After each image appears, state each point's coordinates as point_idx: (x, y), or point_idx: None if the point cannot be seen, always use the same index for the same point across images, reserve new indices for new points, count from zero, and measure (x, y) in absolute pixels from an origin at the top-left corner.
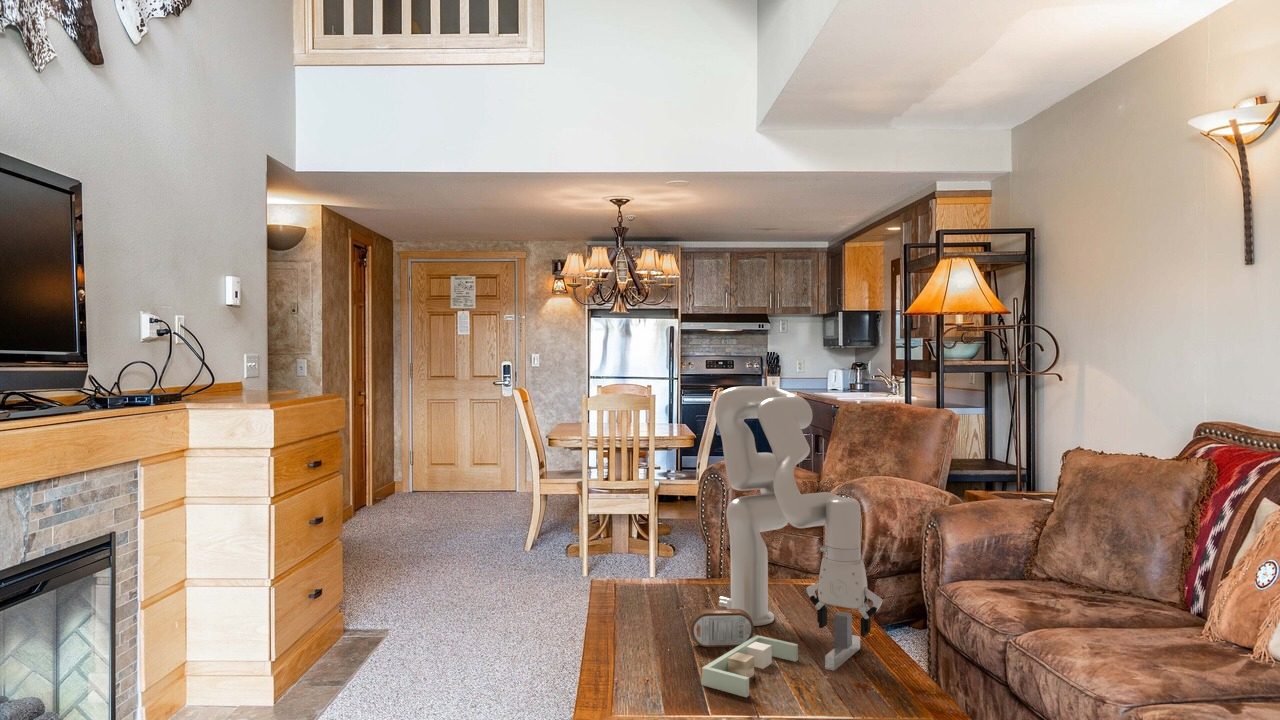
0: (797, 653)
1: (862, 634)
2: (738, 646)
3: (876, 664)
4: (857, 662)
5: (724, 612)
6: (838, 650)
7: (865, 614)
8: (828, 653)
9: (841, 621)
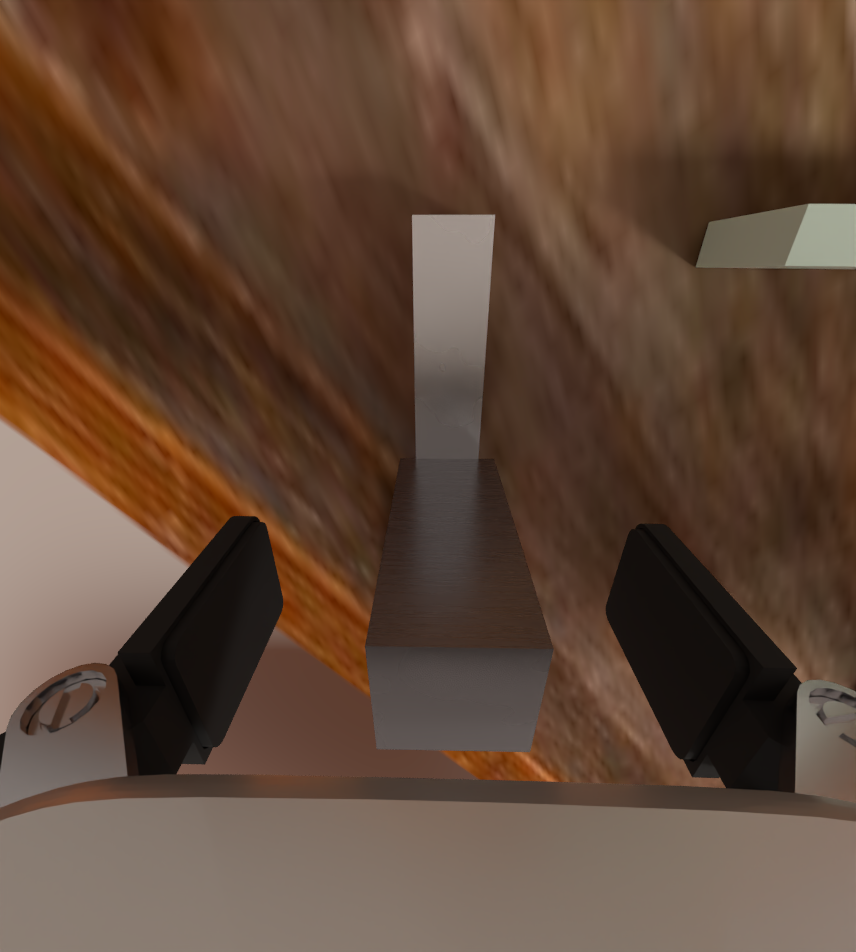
0: (731, 255)
1: (236, 524)
2: None
3: (270, 476)
4: (358, 449)
5: None
6: (440, 398)
7: (60, 733)
8: (484, 286)
9: (444, 592)
